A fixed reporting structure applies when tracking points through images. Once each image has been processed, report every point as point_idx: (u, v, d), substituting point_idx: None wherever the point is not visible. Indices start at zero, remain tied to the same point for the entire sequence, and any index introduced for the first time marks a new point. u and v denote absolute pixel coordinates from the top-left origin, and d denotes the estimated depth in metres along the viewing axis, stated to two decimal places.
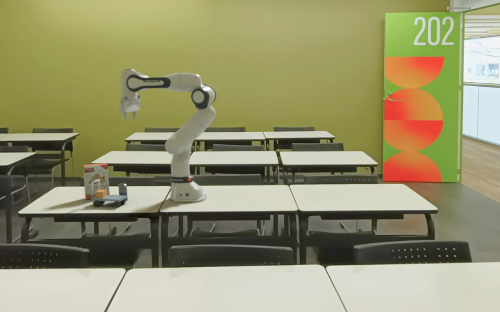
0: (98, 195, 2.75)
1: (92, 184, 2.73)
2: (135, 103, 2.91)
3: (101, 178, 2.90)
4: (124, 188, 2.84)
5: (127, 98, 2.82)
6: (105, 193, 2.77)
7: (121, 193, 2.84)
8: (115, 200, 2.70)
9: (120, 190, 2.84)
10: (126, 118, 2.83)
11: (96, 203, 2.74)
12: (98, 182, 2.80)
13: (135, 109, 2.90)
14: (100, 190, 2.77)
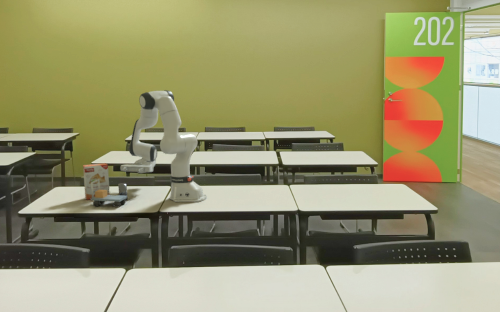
0: (98, 195, 2.75)
1: (92, 184, 2.73)
2: None
3: (101, 178, 2.90)
4: (124, 188, 2.84)
5: None
6: (105, 193, 2.77)
7: (121, 193, 2.84)
8: (115, 200, 2.70)
9: (120, 190, 2.84)
10: None
11: (96, 203, 2.74)
12: (98, 182, 2.80)
13: (140, 166, 3.00)
14: (100, 190, 2.77)
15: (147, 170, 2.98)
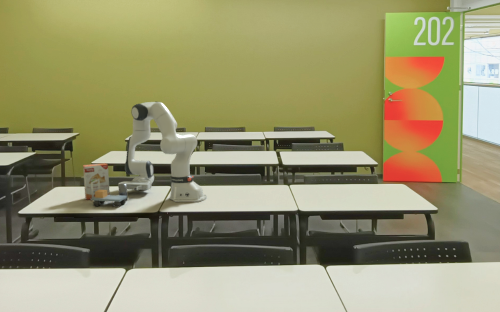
0: (98, 195, 2.75)
1: (92, 184, 2.73)
2: (142, 182, 3.01)
3: (101, 178, 2.90)
4: (124, 188, 2.84)
5: None
6: (105, 193, 2.77)
7: (121, 193, 2.84)
8: (115, 200, 2.70)
9: (120, 190, 2.84)
10: None
11: (96, 203, 2.74)
12: (98, 182, 2.80)
13: (138, 183, 2.97)
14: (100, 190, 2.77)
15: (145, 188, 2.96)
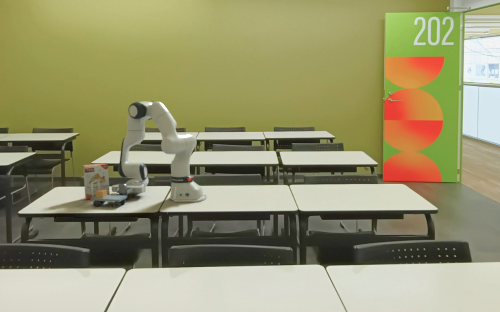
0: (98, 195, 2.75)
1: (92, 184, 2.73)
2: (135, 185, 2.93)
3: (101, 178, 2.90)
4: (124, 188, 2.84)
5: None
6: (105, 193, 2.77)
7: (121, 193, 2.84)
8: (115, 200, 2.70)
9: (120, 190, 2.84)
10: None
11: (96, 203, 2.74)
12: (98, 182, 2.80)
13: (131, 186, 2.89)
14: (100, 190, 2.77)
15: (139, 191, 2.88)
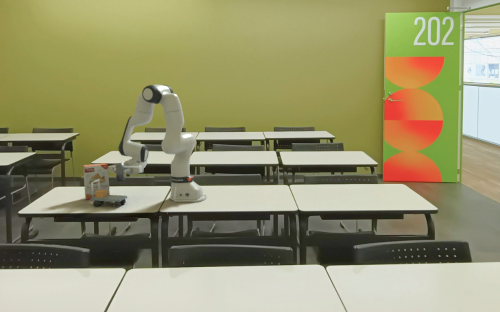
0: (98, 195, 2.75)
1: (92, 184, 2.73)
2: (133, 166, 2.86)
3: (101, 178, 2.90)
4: (121, 168, 2.77)
5: None
6: (105, 193, 2.77)
7: (118, 173, 2.77)
8: (115, 200, 2.70)
9: (117, 170, 2.77)
10: None
11: (96, 203, 2.74)
12: (98, 182, 2.80)
13: (129, 166, 2.83)
14: (100, 190, 2.77)
15: (136, 171, 2.81)
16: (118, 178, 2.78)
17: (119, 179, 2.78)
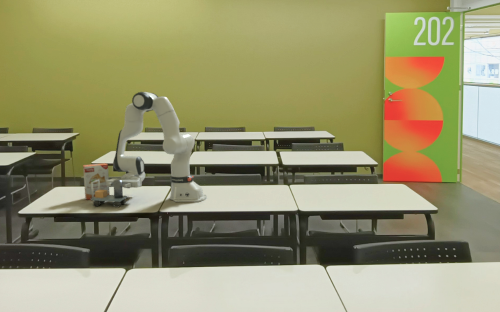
0: (98, 195, 2.75)
1: (92, 184, 2.73)
2: None
3: (101, 178, 2.90)
4: (119, 185, 2.72)
5: None
6: (105, 193, 2.77)
7: (116, 190, 2.72)
8: (115, 200, 2.70)
9: (115, 187, 2.71)
10: None
11: (96, 203, 2.74)
12: (98, 182, 2.80)
13: (127, 181, 2.77)
14: (100, 190, 2.77)
15: (134, 185, 2.75)
16: (116, 195, 2.72)
17: (117, 196, 2.72)
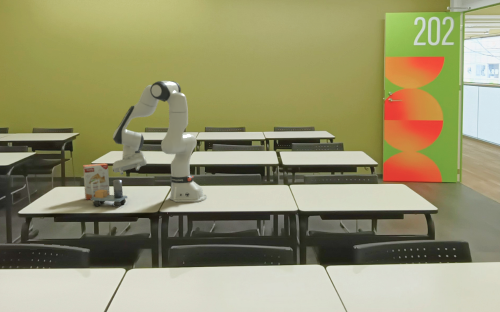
0: (98, 195, 2.75)
1: (92, 184, 2.73)
2: (136, 158, 2.90)
3: (101, 178, 2.90)
4: (119, 185, 2.72)
5: (122, 159, 2.92)
6: (105, 193, 2.77)
7: (116, 190, 2.72)
8: (115, 200, 2.70)
9: (115, 187, 2.71)
10: None
11: (96, 203, 2.74)
12: (98, 182, 2.80)
13: (134, 162, 2.87)
14: (100, 190, 2.77)
15: (144, 164, 2.87)
16: (116, 195, 2.72)
17: (117, 196, 2.72)
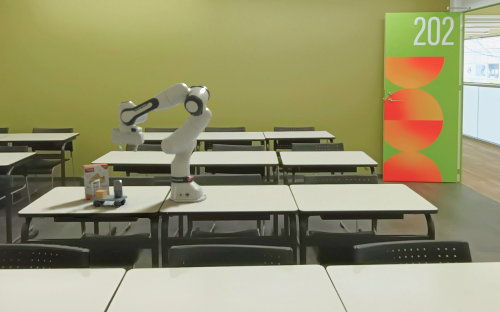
0: (98, 195, 2.75)
1: (92, 184, 2.73)
2: (133, 136, 2.83)
3: (101, 178, 2.90)
4: (119, 185, 2.72)
5: None
6: (105, 193, 2.77)
7: (116, 190, 2.72)
8: (115, 200, 2.70)
9: (115, 187, 2.71)
10: None
11: (96, 203, 2.74)
12: (98, 182, 2.80)
13: (131, 142, 2.84)
14: (100, 190, 2.77)
15: (141, 143, 2.85)
16: (116, 195, 2.72)
17: (117, 196, 2.72)
